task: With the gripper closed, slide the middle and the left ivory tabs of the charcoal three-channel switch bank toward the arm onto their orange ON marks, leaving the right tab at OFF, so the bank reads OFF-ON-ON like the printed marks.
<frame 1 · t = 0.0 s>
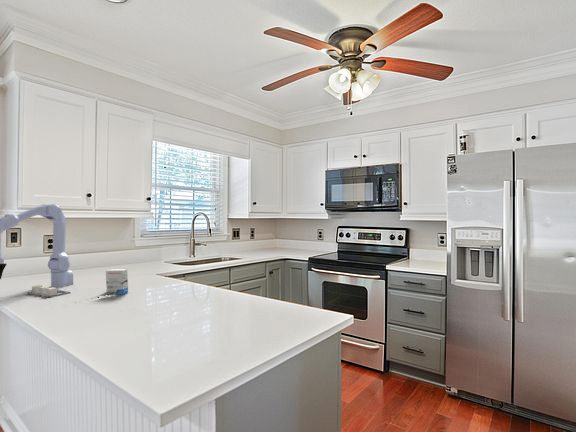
tab 3: (51, 292, 159), point 3 cm above the counter, slide at 0.0 cm
ink box: (117, 294, 168), on the counter
tab 1: (37, 289, 164), point 3 cm above the counter, slide at 0.0 cm
switch bank: (49, 296, 163), on the counter
tab 2: (44, 290, 162), point 3 cm above the counter, slide at 0.0 cm
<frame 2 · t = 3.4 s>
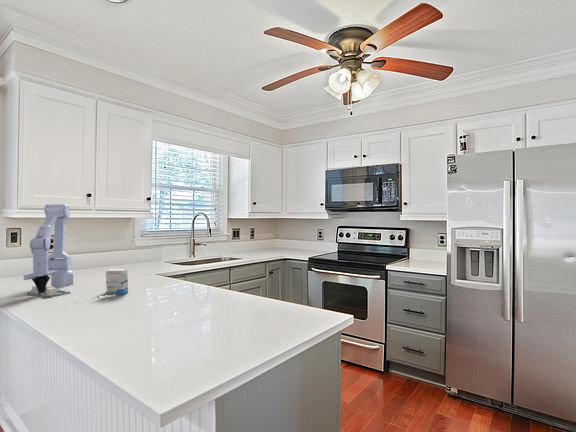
hand: (41, 292, 161), 3 cm above the counter, fingers closed
tab 2: (48, 290, 163), point 3 cm above the counter, slide at 1.8 cm, touching gripper
everything else where it was.
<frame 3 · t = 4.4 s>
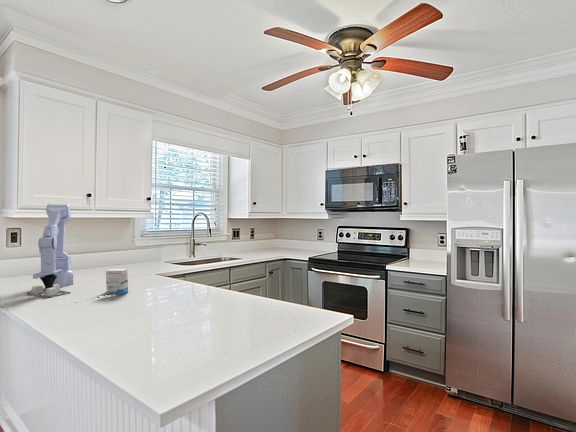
hand: (48, 291, 163), 3 cm above the counter, fingers closed
tab 2: (55, 288, 166), point 3 cm above the counter, slide at 4.7 cm, touching gripper, switch bank
everything else where it was.
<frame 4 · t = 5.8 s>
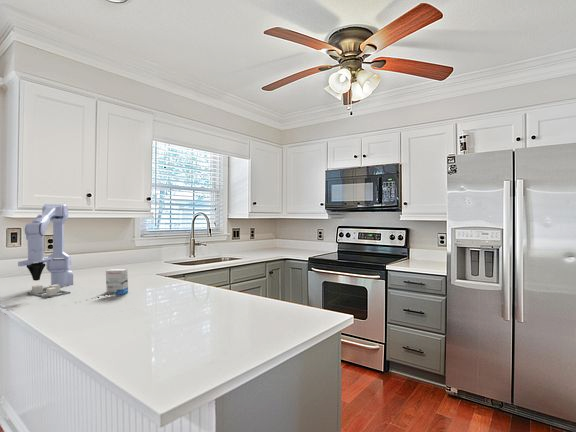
hand: (36, 280, 154), 10 cm above the counter, fingers closed
tab 2: (54, 288, 166), point 3 cm above the counter, slide at 4.6 cm
everything else where it was.
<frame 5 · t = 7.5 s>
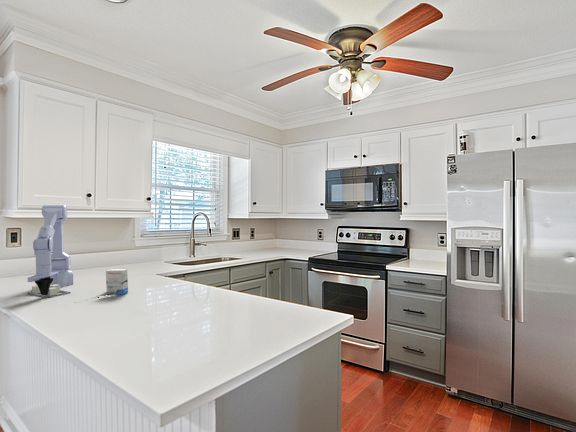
hand: (44, 294, 156), 3 cm above the counter, fingers closed
tab 3: (51, 292, 159), point 3 cm above the counter, slide at 0.1 cm, touching gripper
everything else where it was.
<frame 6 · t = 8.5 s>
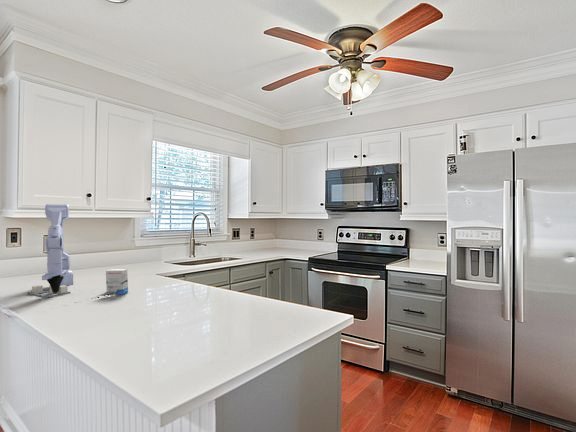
hand: (55, 292, 160), 3 cm above the counter, fingers closed
tab 3: (62, 289, 163), point 3 cm above the counter, slide at 4.7 cm, touching gripper, switch bank
everything else where it was.
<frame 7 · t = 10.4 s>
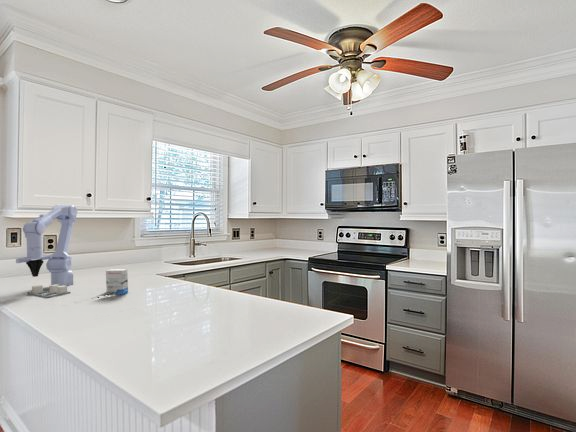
hand: (35, 276, 162), 10 cm above the counter, fingers closed
tab 3: (62, 290, 163), point 3 cm above the counter, slide at 4.6 cm
everything else where it was.
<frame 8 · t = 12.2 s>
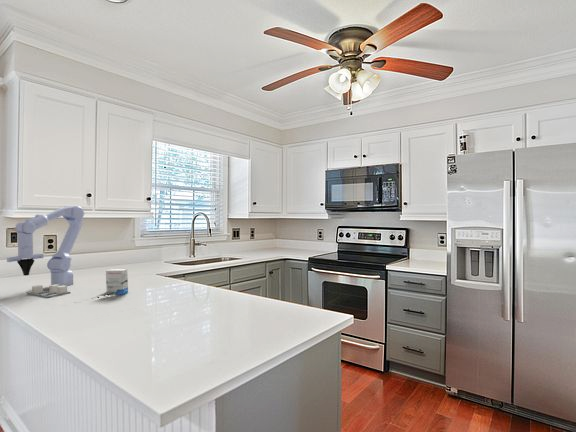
hand: (26, 275, 165), 10 cm above the counter, fingers closed
nothing on the counter moved.
at the end: tab 2 slide at 4.6 cm; tab 3 slide at 4.6 cm; tab 1 slide at 0.0 cm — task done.
